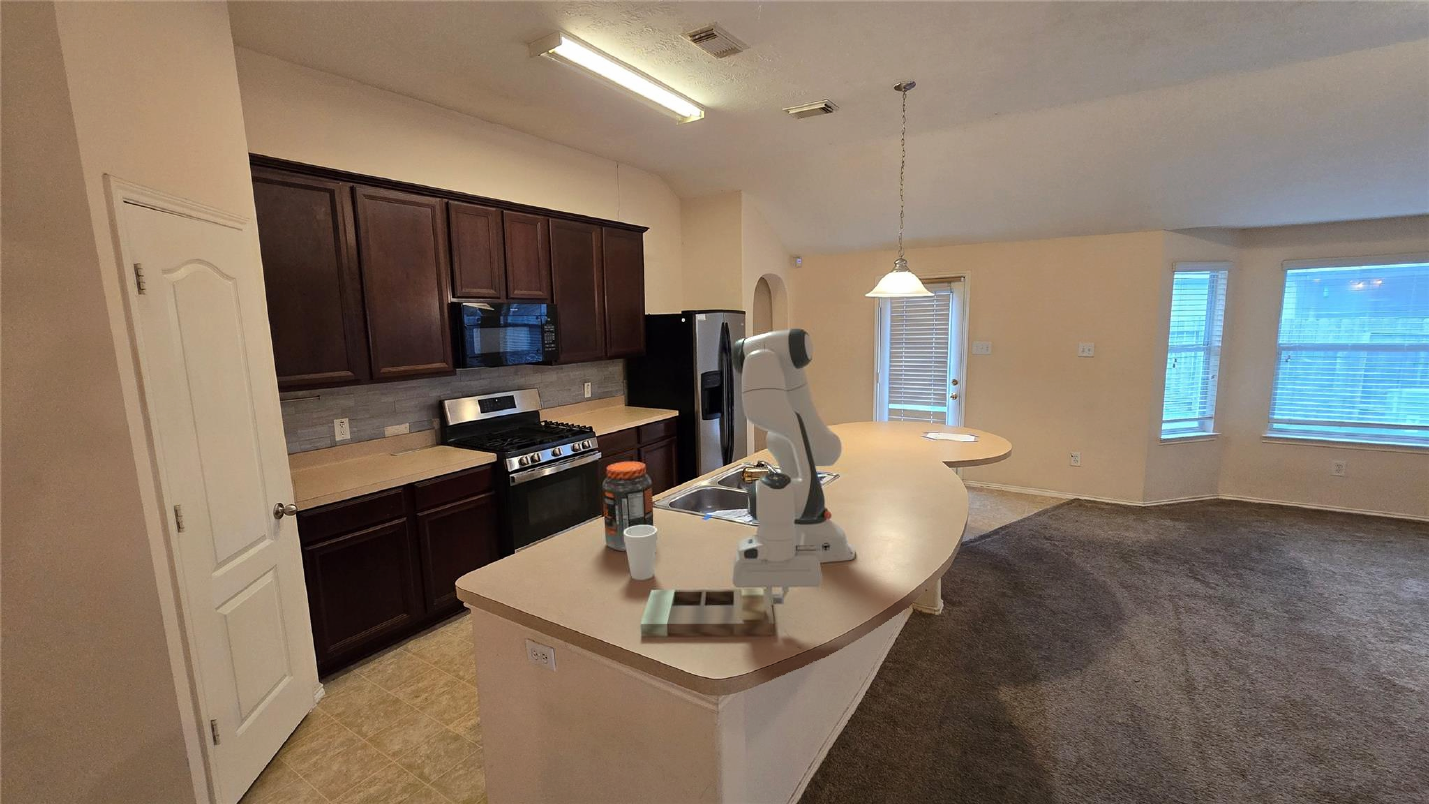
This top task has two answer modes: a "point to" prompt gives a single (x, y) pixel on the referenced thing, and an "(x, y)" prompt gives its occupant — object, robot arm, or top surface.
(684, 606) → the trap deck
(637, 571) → the foam cup
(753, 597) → the maple block
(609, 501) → the supplement tub
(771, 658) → the top surface
